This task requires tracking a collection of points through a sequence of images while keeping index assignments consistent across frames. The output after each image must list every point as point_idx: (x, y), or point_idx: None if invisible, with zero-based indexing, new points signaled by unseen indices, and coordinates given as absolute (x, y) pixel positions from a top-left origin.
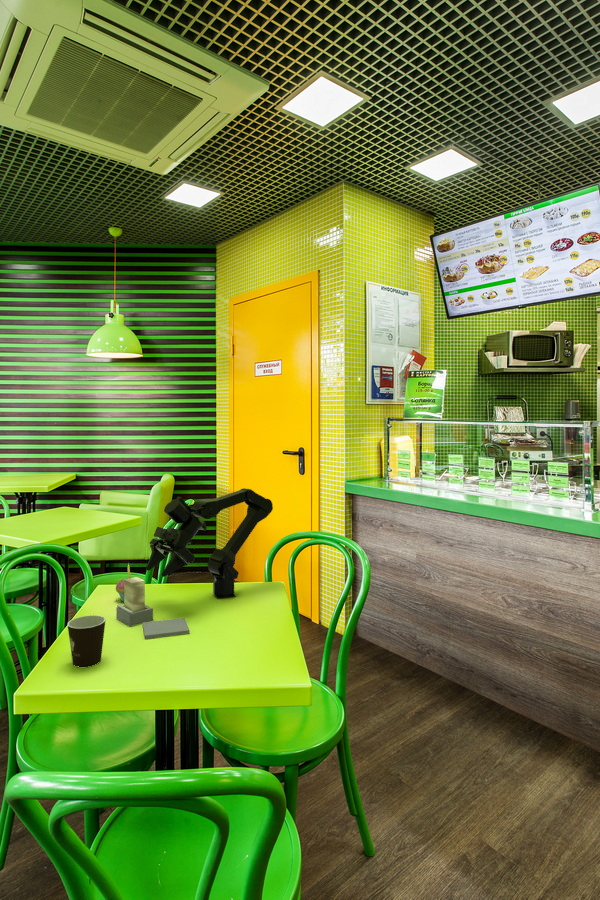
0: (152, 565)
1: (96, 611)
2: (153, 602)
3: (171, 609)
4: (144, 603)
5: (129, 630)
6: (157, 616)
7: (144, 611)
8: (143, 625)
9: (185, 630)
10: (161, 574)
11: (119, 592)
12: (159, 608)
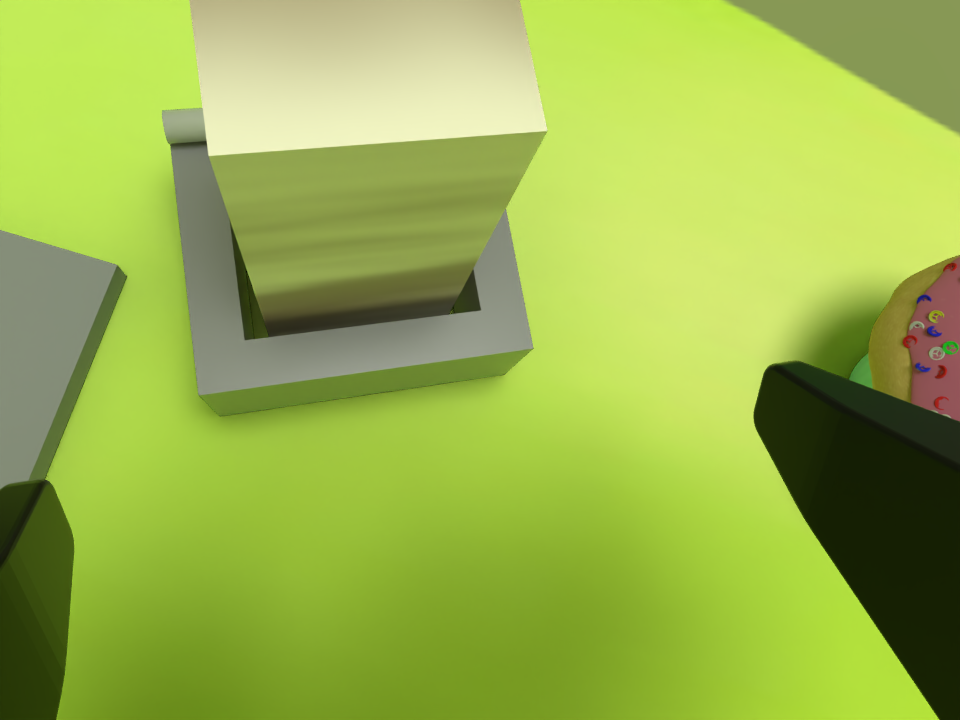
0: (852, 523)
1: (732, 90)
2: (732, 603)
3: (420, 708)
4: (258, 296)
5: (98, 142)
6: (299, 495)
7: (188, 289)
8: (26, 241)
9: None
10: (19, 484)
11: (918, 273)
12: (522, 597)
